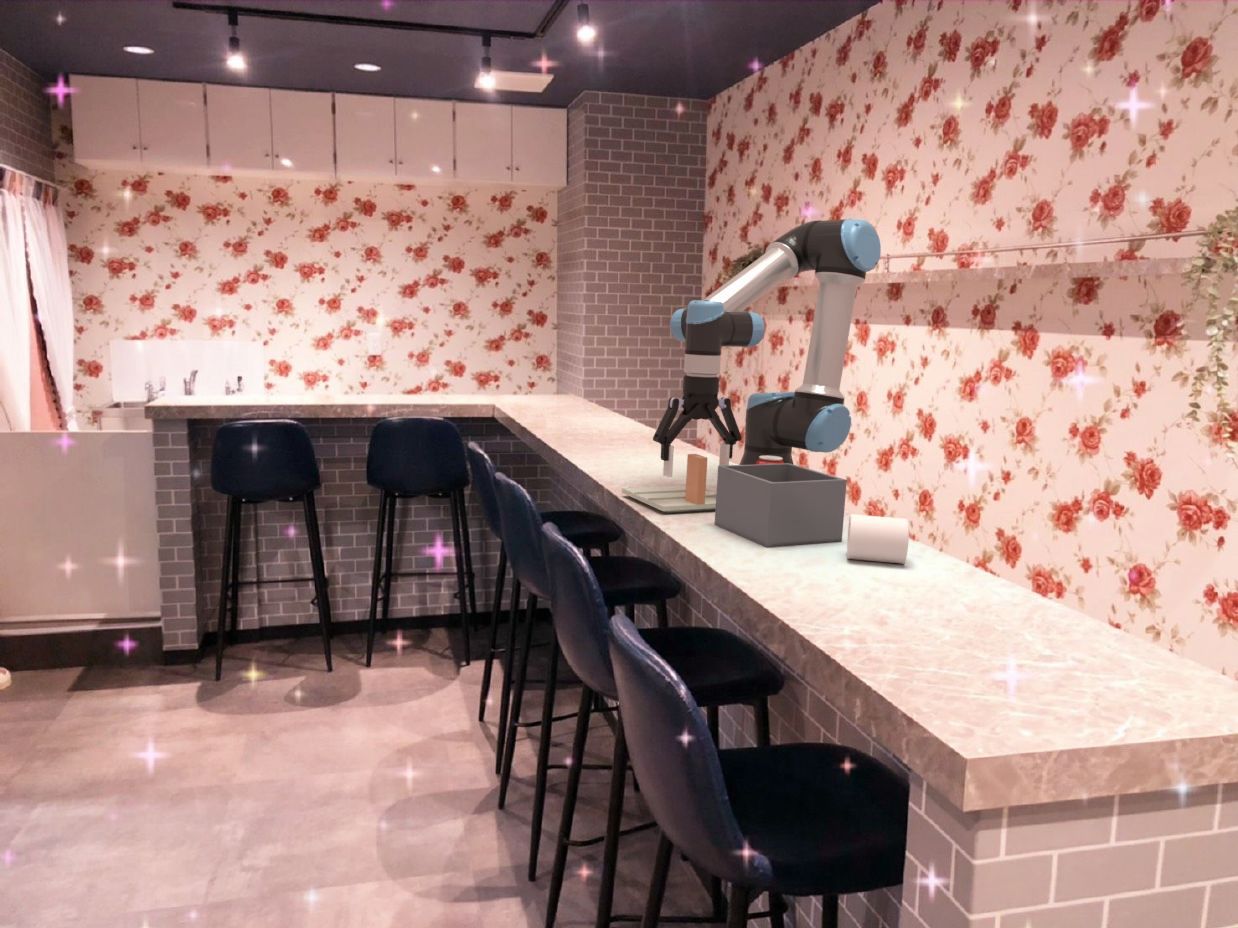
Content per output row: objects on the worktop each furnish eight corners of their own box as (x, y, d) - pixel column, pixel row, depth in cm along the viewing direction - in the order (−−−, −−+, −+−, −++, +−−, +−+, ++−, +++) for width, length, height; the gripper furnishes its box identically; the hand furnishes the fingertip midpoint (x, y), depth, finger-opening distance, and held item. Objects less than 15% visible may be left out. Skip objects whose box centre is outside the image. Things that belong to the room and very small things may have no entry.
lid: (691, 494, 231) (694, 442, 229) (736, 512, 213) (740, 456, 211) (621, 497, 223) (624, 444, 221) (662, 516, 205) (665, 459, 203)
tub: (785, 519, 206) (789, 463, 204) (841, 541, 189) (846, 479, 187) (714, 524, 199) (718, 465, 197) (766, 547, 182) (771, 483, 180)
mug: (906, 569, 171) (910, 524, 170) (847, 563, 173) (850, 519, 172) (900, 552, 183) (904, 510, 182) (845, 547, 185) (849, 505, 184)
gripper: (742, 373, 215) (736, 469, 219) (640, 373, 205) (635, 473, 208) (761, 377, 209) (755, 475, 212) (656, 376, 198) (651, 480, 202)
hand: (695, 474), depth 210 cm, fingers open, 13 cm apart
